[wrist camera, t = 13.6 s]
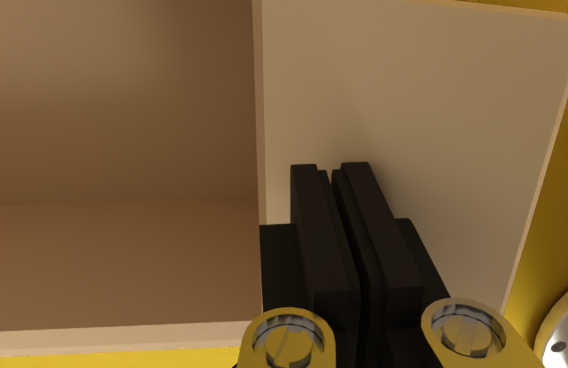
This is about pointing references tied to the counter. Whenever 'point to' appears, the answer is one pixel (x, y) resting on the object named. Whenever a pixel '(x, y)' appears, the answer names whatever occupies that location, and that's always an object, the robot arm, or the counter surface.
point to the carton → (130, 174)
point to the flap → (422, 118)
